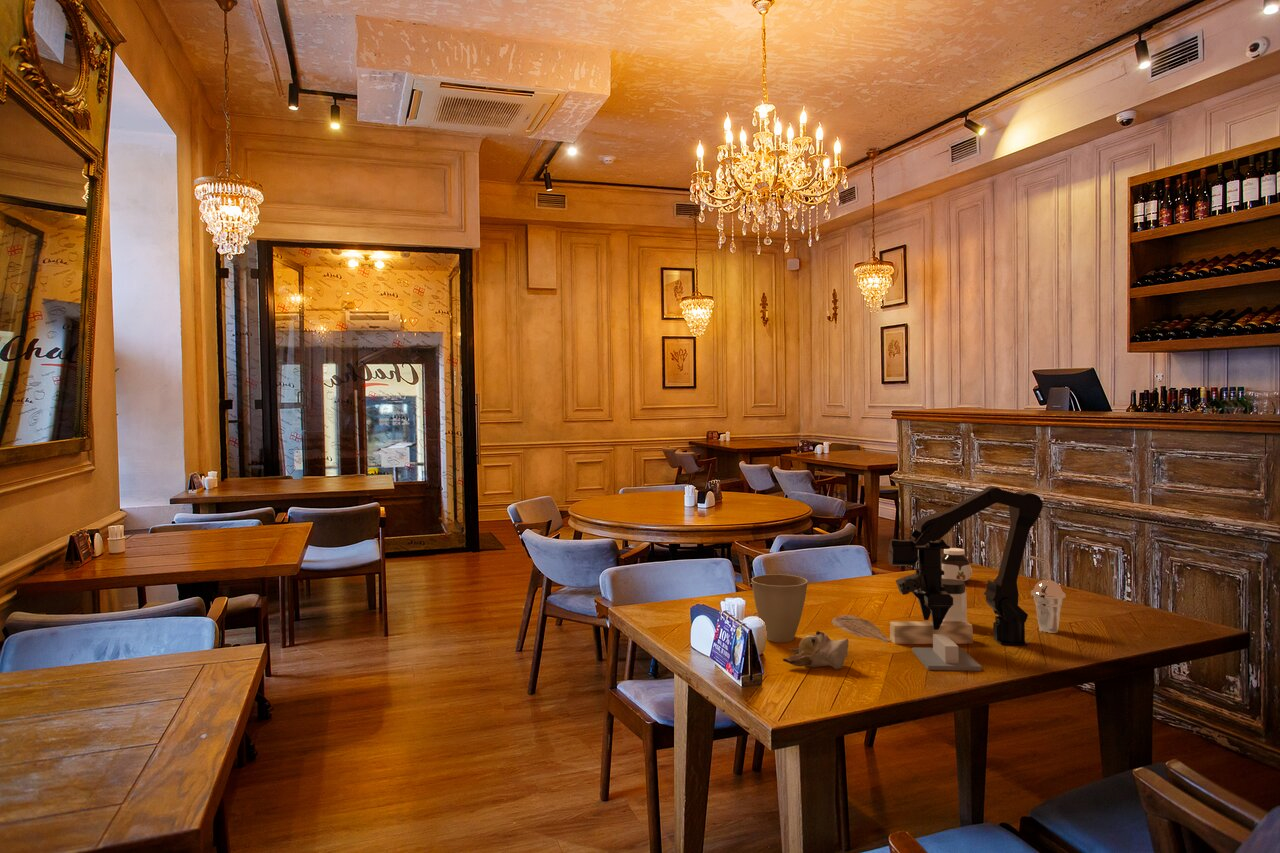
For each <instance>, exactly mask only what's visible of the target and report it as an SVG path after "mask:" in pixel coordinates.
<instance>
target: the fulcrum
mask: <svg viewBox="0 0 1280 853" xmlns="http://www.w3.org/2000/svg"><path fill="white" fill-rule="evenodd" d="M911 648H912V653H913V654H914V656H915V657H916V658H918V660H919V661H920V662H921V663H922V665H923V666H924V667H925V669H927V671H966V672H967V671H971V672H973V671H974V672H975V671H977V672H980V671H982V666H981V664H980V663H978V661H977V660H975V659H974V658H973V657H972V656H971V655H970V654H969V653H968V652H967V651H965V649H963V648H962V647H959V646H958V645H957V644H955V643H954V642H953V641H952V640H951V639H950V638H949V637H948V636H947V635H946V634H933V644H932V647H911Z"/></svg>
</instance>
